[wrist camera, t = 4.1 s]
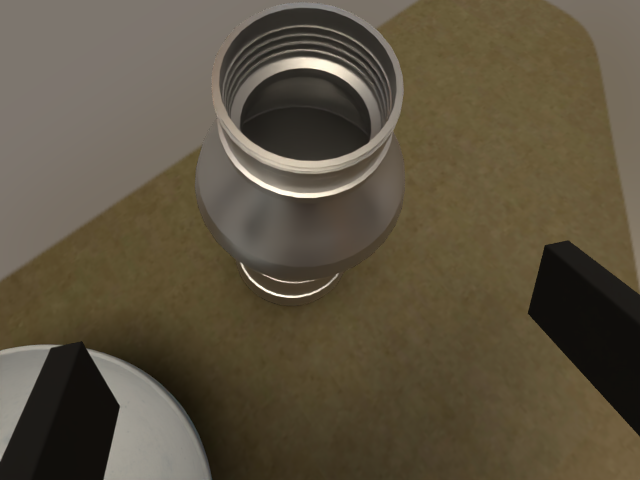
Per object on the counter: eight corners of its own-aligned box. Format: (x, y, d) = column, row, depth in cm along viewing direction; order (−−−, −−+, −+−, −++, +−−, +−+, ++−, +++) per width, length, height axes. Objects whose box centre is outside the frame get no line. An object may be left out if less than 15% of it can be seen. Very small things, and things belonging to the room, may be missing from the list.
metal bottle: (236, 215, 28) (120, -57, 8) (336, 207, 28) (449, -63, 9) (243, 313, 26) (125, 265, 7) (348, 302, 27) (510, 230, 8)
